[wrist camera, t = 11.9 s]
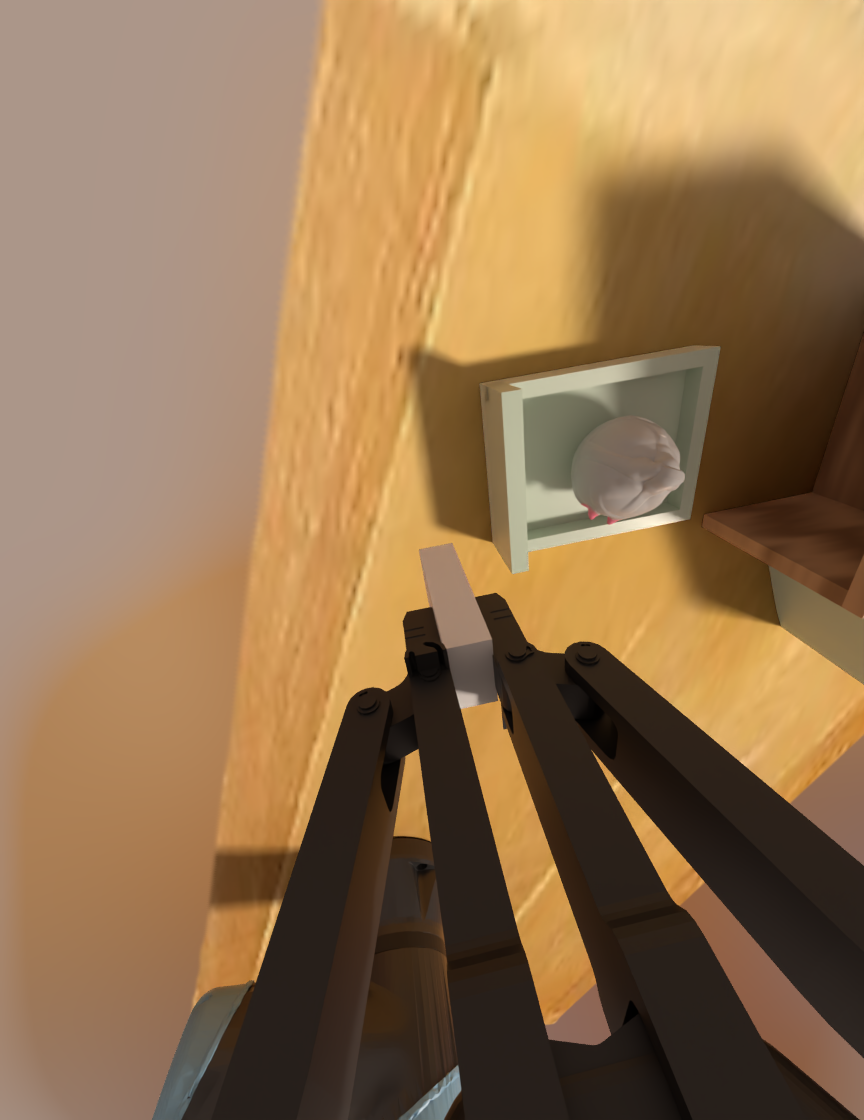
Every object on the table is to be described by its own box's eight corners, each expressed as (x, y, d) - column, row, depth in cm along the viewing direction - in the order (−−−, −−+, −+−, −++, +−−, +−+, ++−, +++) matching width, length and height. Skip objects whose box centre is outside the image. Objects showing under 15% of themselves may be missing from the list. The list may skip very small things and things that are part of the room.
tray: (492, 542, 33) (512, 574, 29) (479, 383, 28) (501, 392, 23) (669, 507, 34) (714, 532, 30) (693, 345, 28) (753, 347, 24)
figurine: (538, 492, 31) (589, 538, 24) (581, 396, 28) (654, 417, 21) (611, 513, 33) (678, 562, 26) (658, 425, 30) (749, 453, 23)
